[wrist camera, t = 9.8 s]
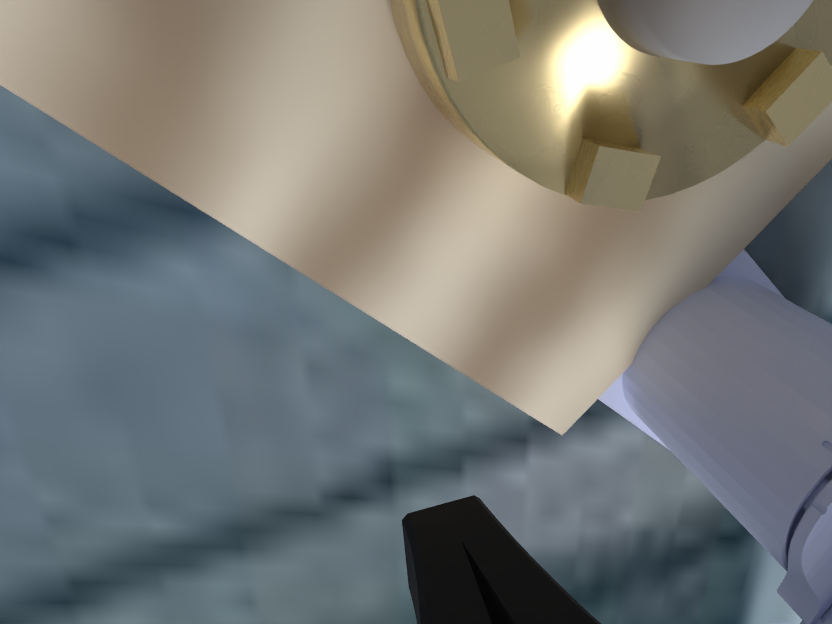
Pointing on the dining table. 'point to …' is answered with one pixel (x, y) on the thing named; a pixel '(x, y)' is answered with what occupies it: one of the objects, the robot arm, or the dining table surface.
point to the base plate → (408, 173)
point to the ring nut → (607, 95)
